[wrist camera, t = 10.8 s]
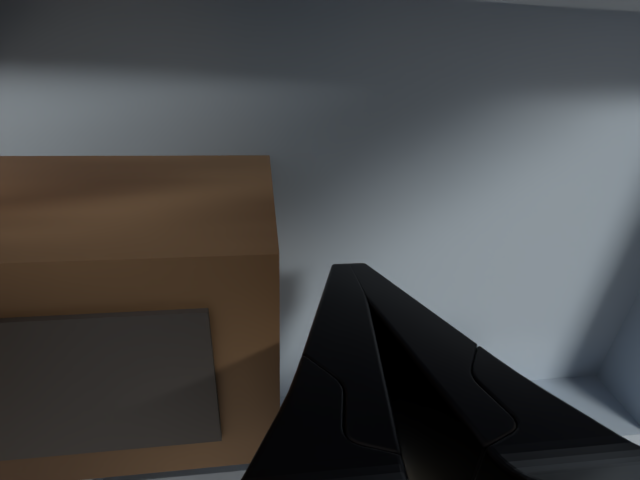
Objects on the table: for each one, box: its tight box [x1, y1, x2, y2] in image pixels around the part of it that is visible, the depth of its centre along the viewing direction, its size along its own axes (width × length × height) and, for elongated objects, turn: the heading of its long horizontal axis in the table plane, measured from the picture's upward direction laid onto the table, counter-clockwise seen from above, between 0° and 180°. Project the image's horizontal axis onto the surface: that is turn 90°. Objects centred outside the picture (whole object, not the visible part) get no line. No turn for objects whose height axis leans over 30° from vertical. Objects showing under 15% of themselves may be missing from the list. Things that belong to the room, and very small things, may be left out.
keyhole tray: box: [0, 0, 640, 480], centre depth 10 cm, size 26×13×3 cm, turn 87°
